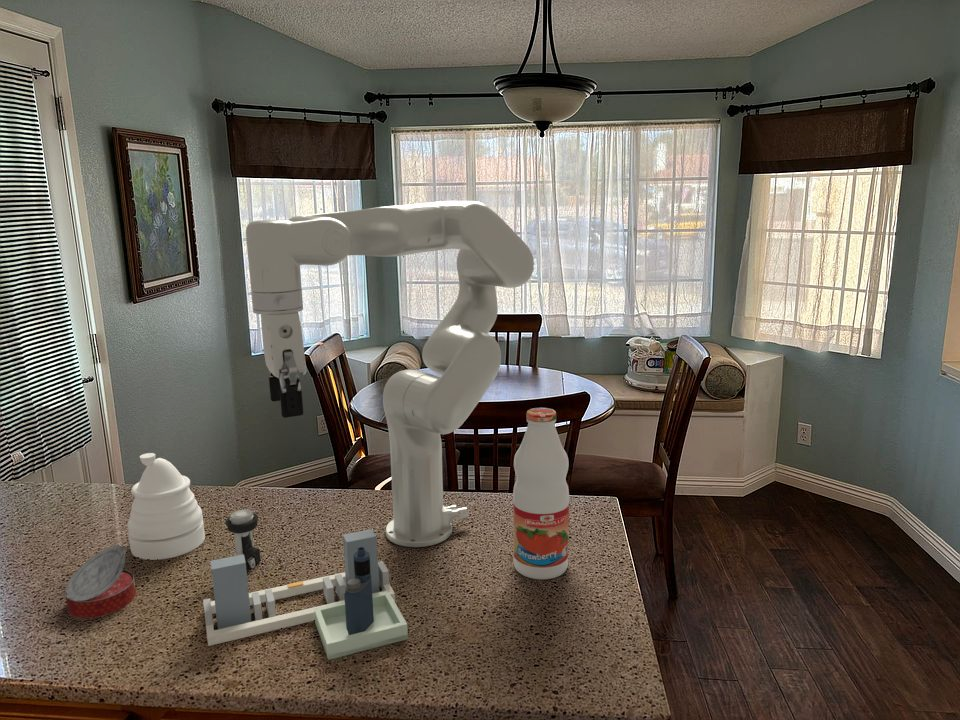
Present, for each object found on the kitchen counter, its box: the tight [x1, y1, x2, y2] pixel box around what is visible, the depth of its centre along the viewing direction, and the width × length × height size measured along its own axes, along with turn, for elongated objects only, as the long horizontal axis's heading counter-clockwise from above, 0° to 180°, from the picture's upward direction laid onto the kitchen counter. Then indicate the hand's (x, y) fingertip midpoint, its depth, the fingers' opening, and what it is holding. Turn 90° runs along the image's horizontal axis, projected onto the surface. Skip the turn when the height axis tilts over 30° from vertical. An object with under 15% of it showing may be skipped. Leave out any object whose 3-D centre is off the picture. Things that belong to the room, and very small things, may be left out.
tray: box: [314, 591, 409, 661], centre depth 107 cm, size 12×10×2 cm
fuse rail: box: [202, 528, 396, 647], centre depth 113 cm, size 28×10×10 cm, turn 113°
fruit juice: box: [512, 407, 570, 580], centre depth 122 cm, size 9×9×28 cm
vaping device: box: [344, 547, 374, 635], centre depth 106 cm, size 3×5×12 cm, turn 158°
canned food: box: [64, 544, 137, 619], centre depth 116 cm, size 11×10×10 cm
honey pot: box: [127, 452, 206, 561], centre depth 133 cm, size 13×13×18 cm
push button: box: [225, 508, 261, 571], centre depth 125 cm, size 7×5×10 cm
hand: (286, 407), depth 115 cm, fingers open, 9 cm apart
